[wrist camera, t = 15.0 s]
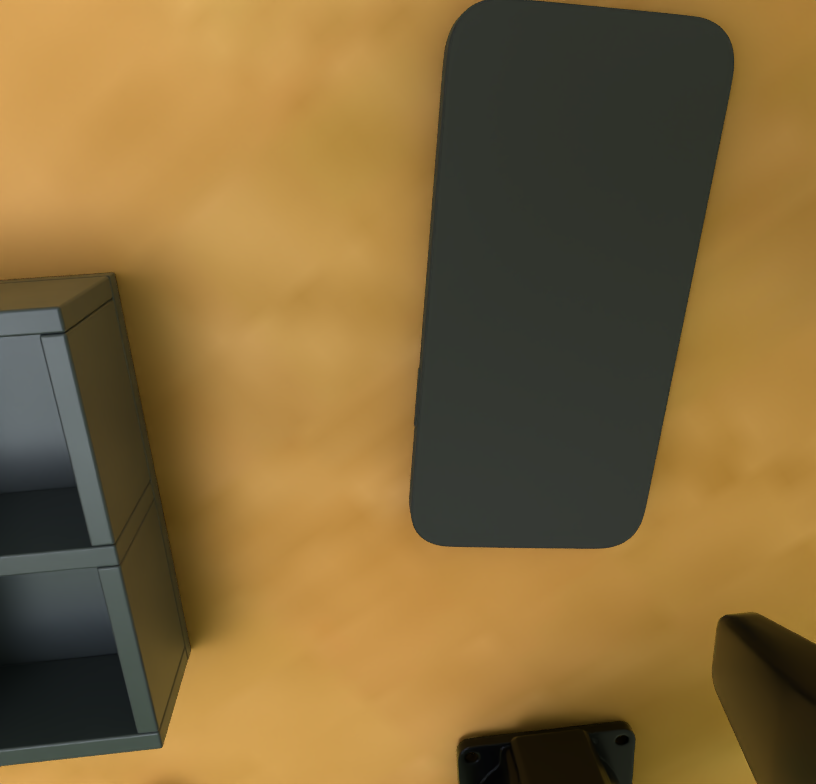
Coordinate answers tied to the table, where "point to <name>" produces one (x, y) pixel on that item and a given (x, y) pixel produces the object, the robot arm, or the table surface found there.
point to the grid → (80, 533)
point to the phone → (559, 266)
